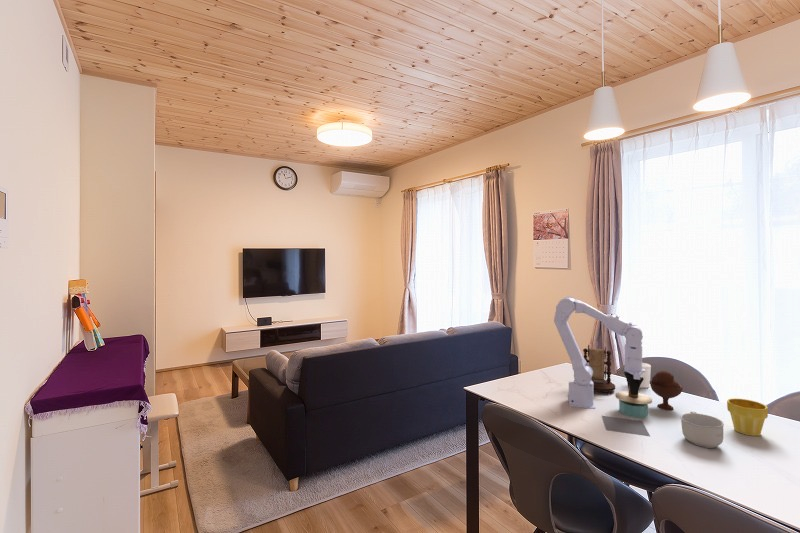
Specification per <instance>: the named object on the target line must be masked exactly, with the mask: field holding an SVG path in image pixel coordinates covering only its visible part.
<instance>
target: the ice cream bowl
mask: <svg viewBox="0 0 800 533" xmlns="http://www.w3.org/2000/svg"><path fill="white" fill-rule="evenodd" d="M674 379H675V377H674V375H673V374H672V372H671V373H670V372H669V371H667V370H660V371H657V372H656V373H655V374H654V375H653V376H652V378H651V380H650V384H649V387H650V388H651V390H652V392H654V393H655V394H656V395H657V396H659V397H660V398H662V403H658V404H657V405H656V406H657V408H658V409H660V410H662V411H671V412H672V411H675V408H674V406H672V405H671V404H669V399H673V398H676V397H678V396H680V395H681V393H682V391H683V390H684V389H683V386H682V384H680V383H679V382H678V381H676V380H674Z"/></svg>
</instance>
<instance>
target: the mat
mask: <svg viewBox="0 0 800 533" xmlns="http://www.w3.org/2000/svg"><path fill="white" fill-rule="evenodd" d="M601 417H602V421H603V424H604V427H605V431H611V432H617V433H623V434H624V433H625V434H632V435H637V436H645V437H651V435H650V433H649V431H648V429H647V428H646V426H645V424H644V422H643V421H642V420H639V419H638V420H637V419H631V418H623V417H622V418H621V417H615V416H608V415H602V416H601Z"/></svg>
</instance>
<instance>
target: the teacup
mask: <svg viewBox="0 0 800 533" xmlns="http://www.w3.org/2000/svg"><path fill="white" fill-rule="evenodd" d="M680 419H681V421H680V422H681V423H680V424H681V430H682V434H683V436H684V438H685V439H686V440H687V441H689V442H690V443H691V444H694V445H696V446H699V447H703V448H707V449H713V448H714V449H715V448H717V447H718V446H720V445H722V443H724V425H725V424H724V421H722V420H721V419H719V418H718V417H715V416H711V415H708V414H703V413H697V412H696V411H690V412H689V413H684V414H681V415H680Z"/></svg>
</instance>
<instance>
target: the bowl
mask: <svg viewBox="0 0 800 533" xmlns="http://www.w3.org/2000/svg"><path fill="white" fill-rule="evenodd" d="M618 411H619V413H620V414H622V415H625V416H627V417H631V418H638V419H642V418H647V417H648V416H649V404H634V403H629V402H625V401H622V400H619V399H618Z"/></svg>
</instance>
